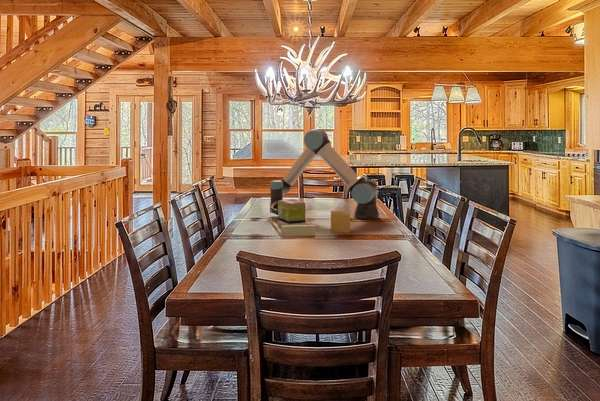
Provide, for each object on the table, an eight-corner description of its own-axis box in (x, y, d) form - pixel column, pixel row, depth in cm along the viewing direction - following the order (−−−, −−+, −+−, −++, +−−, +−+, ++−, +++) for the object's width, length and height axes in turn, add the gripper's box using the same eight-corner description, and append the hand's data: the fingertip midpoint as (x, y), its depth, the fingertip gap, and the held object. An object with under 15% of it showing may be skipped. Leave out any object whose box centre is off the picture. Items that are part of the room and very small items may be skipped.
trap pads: (293, 219, 306) (293, 219, 306) (297, 223, 294) (297, 222, 293) (271, 220, 304) (271, 219, 304) (274, 223, 291) (274, 223, 291)
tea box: (277, 226, 282) (277, 199, 281) (294, 225, 287) (294, 198, 285) (288, 231, 269) (288, 202, 267) (306, 229, 273) (306, 201, 272)
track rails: (296, 219, 308) (296, 216, 307) (309, 230, 270) (309, 227, 270) (268, 220, 304) (268, 217, 304) (277, 231, 267) (277, 228, 267)
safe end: (309, 230, 270) (309, 221, 270) (315, 235, 257) (315, 225, 257) (277, 231, 267) (277, 222, 267) (281, 236, 254) (281, 226, 254)
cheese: (350, 229, 274) (350, 211, 273) (350, 233, 264) (350, 213, 262) (330, 229, 275) (330, 210, 274) (329, 232, 265) (330, 213, 263)
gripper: (289, 214, 309) (296, 220, 286) (267, 214, 306) (273, 221, 283) (289, 201, 308) (296, 207, 285) (267, 202, 305) (273, 207, 282)
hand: (284, 214), depth 284 cm, fingers closed
